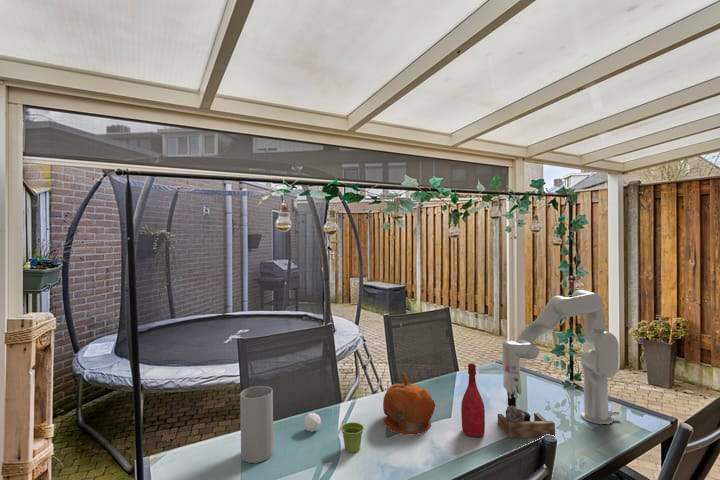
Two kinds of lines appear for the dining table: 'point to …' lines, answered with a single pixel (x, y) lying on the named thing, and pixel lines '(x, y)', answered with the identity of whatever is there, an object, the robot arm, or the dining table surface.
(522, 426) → the brown wooden frame
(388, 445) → the dining table surface
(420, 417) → the pumpkin
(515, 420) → the caster wheel
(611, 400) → the dining table surface
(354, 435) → the plant pot
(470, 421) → the wine bottle
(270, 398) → the cylinder vase
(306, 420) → the geometric ball
